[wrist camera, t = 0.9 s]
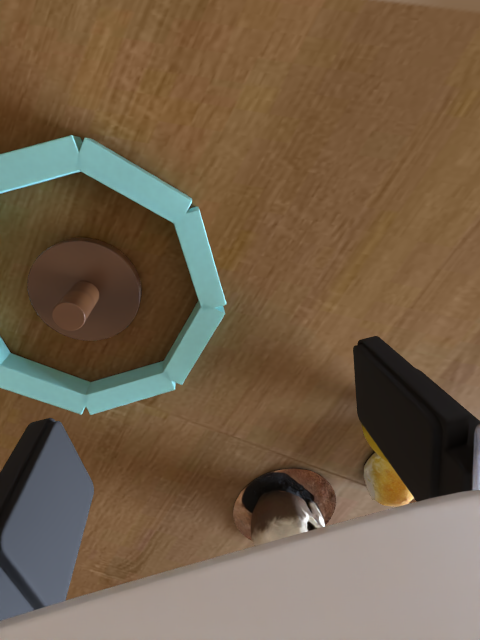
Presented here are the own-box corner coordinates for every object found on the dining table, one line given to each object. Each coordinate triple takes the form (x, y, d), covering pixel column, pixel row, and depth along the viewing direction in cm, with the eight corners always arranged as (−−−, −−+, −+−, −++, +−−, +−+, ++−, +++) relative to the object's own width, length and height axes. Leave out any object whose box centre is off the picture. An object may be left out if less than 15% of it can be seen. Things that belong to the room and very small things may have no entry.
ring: (-125, 191, 23) (-151, 194, 21) (171, 112, 24) (170, 108, 22) (27, 420, 32) (18, 436, 30) (241, 357, 32) (245, 369, 30)
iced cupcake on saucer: (363, 502, 41) (345, 606, 36) (295, 489, 49) (271, 573, 43) (305, 455, 36) (273, 568, 31) (238, 448, 44) (203, 538, 38)
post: (12, 254, 26) (-29, 276, 21) (118, 224, 26) (103, 239, 21) (62, 345, 29) (37, 384, 24) (155, 318, 30) (150, 351, 24)
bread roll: (435, 474, 43) (458, 502, 40) (365, 497, 43) (383, 527, 39) (433, 424, 40) (458, 451, 36) (357, 449, 39) (375, 478, 36)
